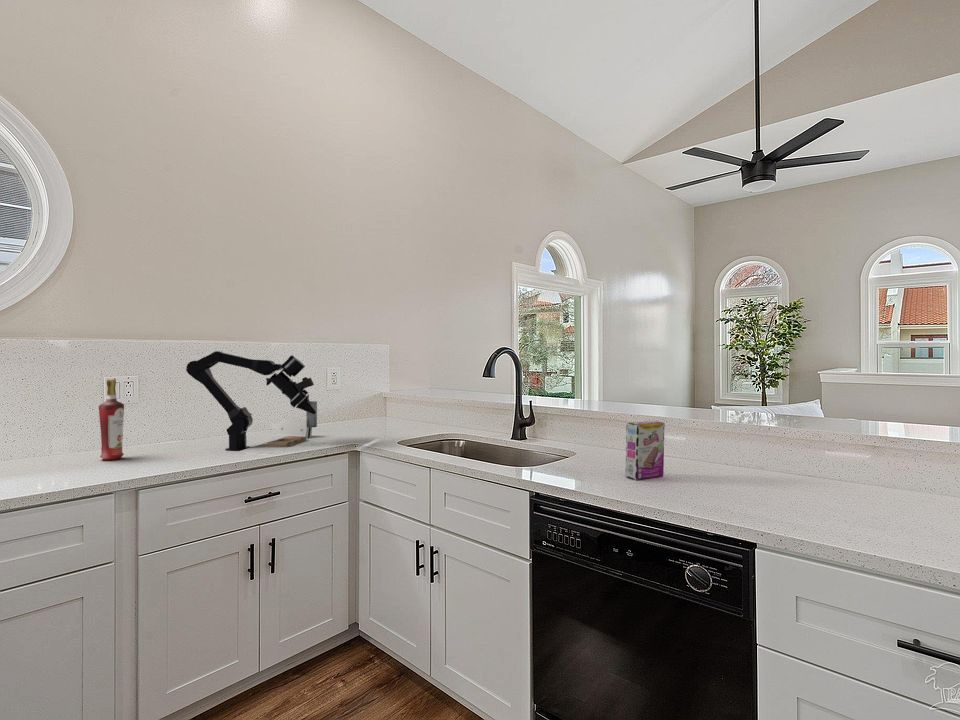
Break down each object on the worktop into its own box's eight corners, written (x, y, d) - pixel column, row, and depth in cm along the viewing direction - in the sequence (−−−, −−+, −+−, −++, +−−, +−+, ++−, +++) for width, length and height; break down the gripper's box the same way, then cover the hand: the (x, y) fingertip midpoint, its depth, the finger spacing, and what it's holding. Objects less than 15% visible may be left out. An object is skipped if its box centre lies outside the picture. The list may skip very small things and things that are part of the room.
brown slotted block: (286, 449, 202) (286, 442, 202) (267, 449, 203) (266, 442, 203) (306, 442, 218) (306, 436, 218) (288, 442, 219) (288, 435, 219)
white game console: (271, 439, 226) (277, 416, 229) (279, 441, 230) (284, 419, 233) (303, 441, 220) (308, 418, 223) (310, 443, 224) (315, 420, 227)
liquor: (112, 456, 188) (111, 378, 188) (129, 457, 187) (129, 378, 186) (93, 460, 181) (92, 379, 181) (112, 461, 180) (111, 379, 179)
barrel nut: (314, 427, 206) (314, 402, 206) (304, 427, 207) (304, 402, 207) (318, 426, 210) (318, 401, 210) (309, 425, 211) (309, 401, 211)
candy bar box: (637, 481, 152) (637, 424, 152) (625, 477, 156) (625, 422, 156) (665, 476, 157) (665, 422, 157) (652, 473, 161) (652, 420, 161)
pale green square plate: (318, 448, 204) (318, 445, 204) (298, 447, 205) (298, 445, 205) (327, 444, 212) (327, 442, 212) (308, 444, 213) (308, 442, 213)
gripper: (299, 371, 198) (330, 400, 201) (302, 369, 216) (330, 396, 219) (277, 392, 196) (308, 421, 199) (282, 389, 214) (310, 415, 217)
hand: (315, 412), depth 209 cm, fingers closed on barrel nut, 4 cm apart
